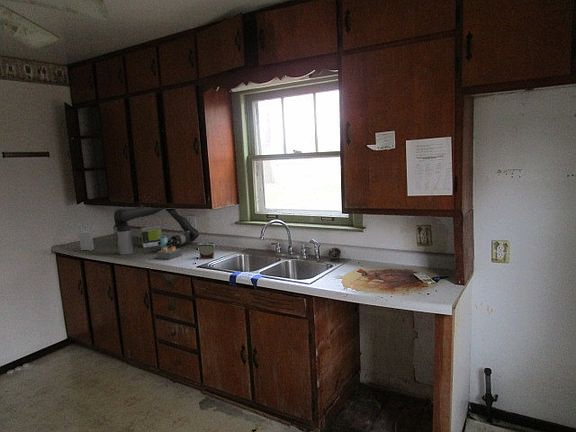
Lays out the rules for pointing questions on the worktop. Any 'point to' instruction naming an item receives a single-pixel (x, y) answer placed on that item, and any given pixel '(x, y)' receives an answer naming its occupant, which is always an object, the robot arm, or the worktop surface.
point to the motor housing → (169, 253)
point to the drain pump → (163, 242)
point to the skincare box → (86, 240)
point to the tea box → (151, 236)
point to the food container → (206, 250)
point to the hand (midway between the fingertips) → (162, 244)
